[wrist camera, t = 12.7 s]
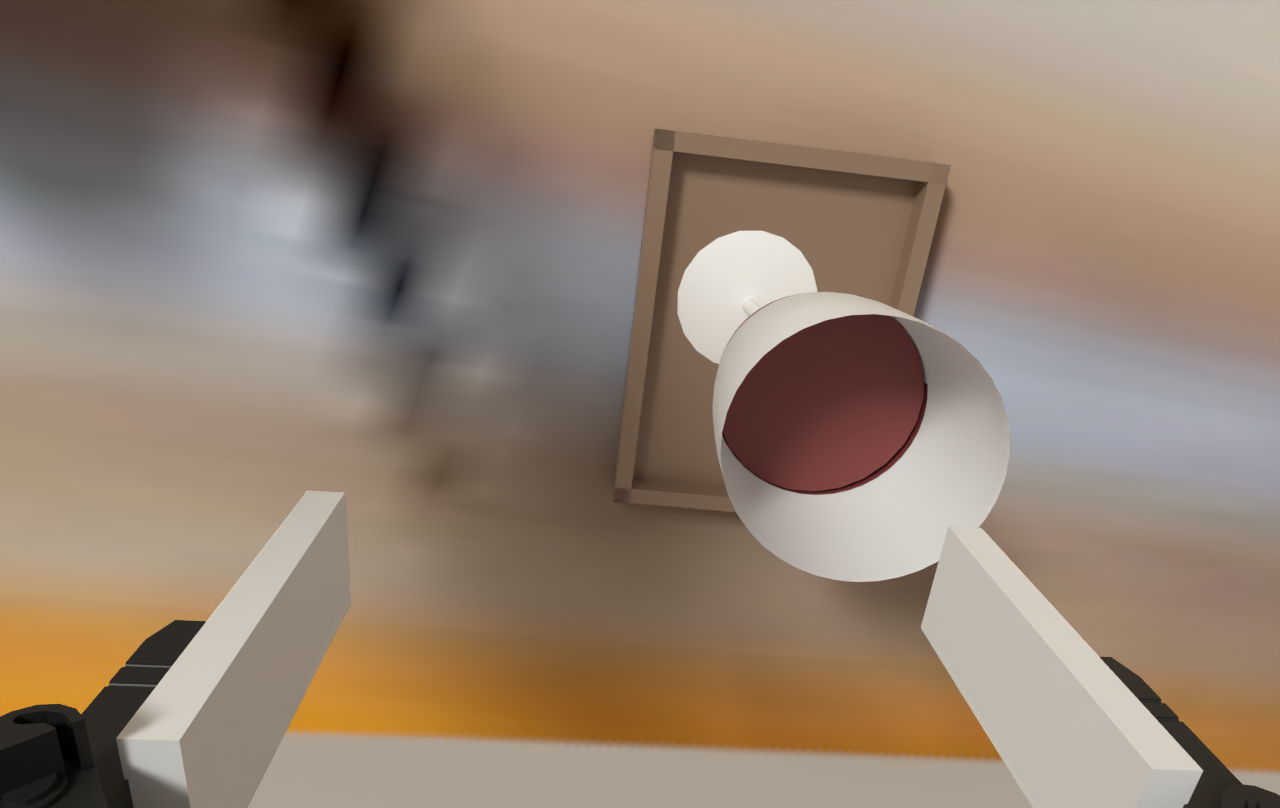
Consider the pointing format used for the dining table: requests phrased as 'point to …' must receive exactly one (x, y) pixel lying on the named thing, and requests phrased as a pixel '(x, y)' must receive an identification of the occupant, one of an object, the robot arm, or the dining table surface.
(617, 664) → the dining table surface
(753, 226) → the tray
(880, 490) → the wineglass
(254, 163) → the dining table surface
